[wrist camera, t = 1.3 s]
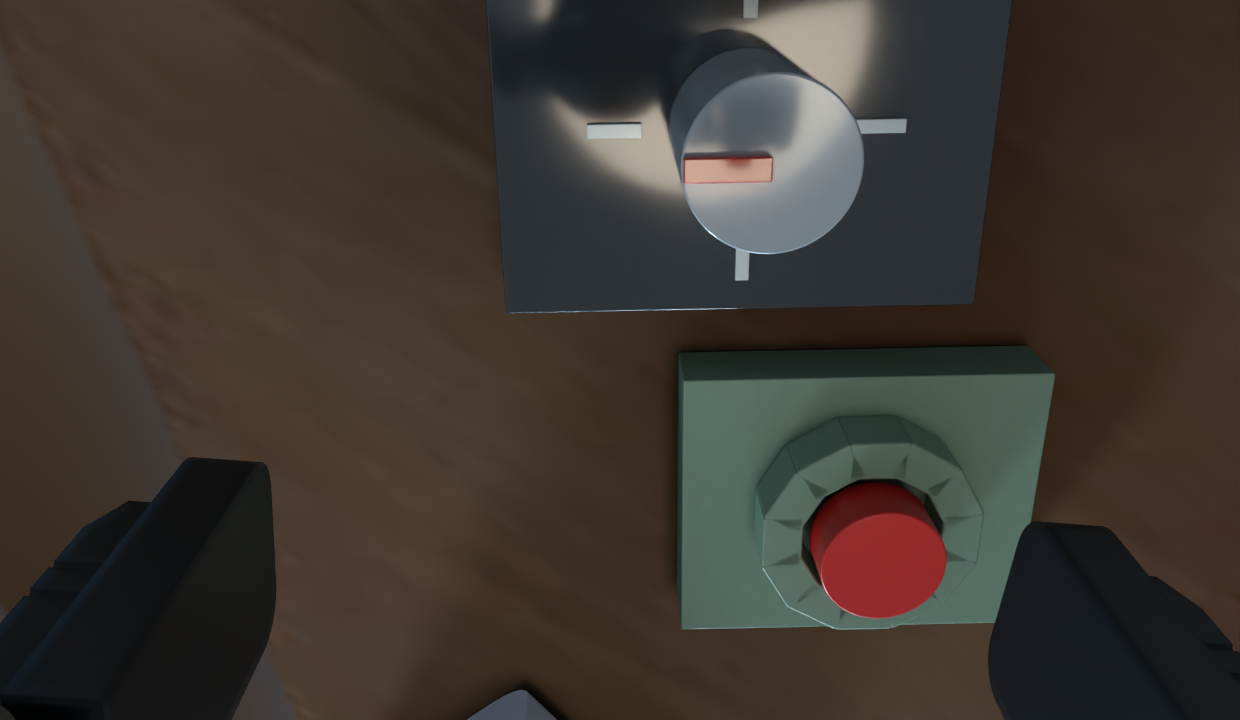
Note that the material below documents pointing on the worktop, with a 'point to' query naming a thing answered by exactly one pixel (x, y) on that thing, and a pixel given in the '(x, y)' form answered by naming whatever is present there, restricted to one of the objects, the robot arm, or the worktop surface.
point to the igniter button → (877, 550)
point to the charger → (514, 708)
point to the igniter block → (850, 472)
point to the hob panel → (647, 174)
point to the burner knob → (764, 151)
